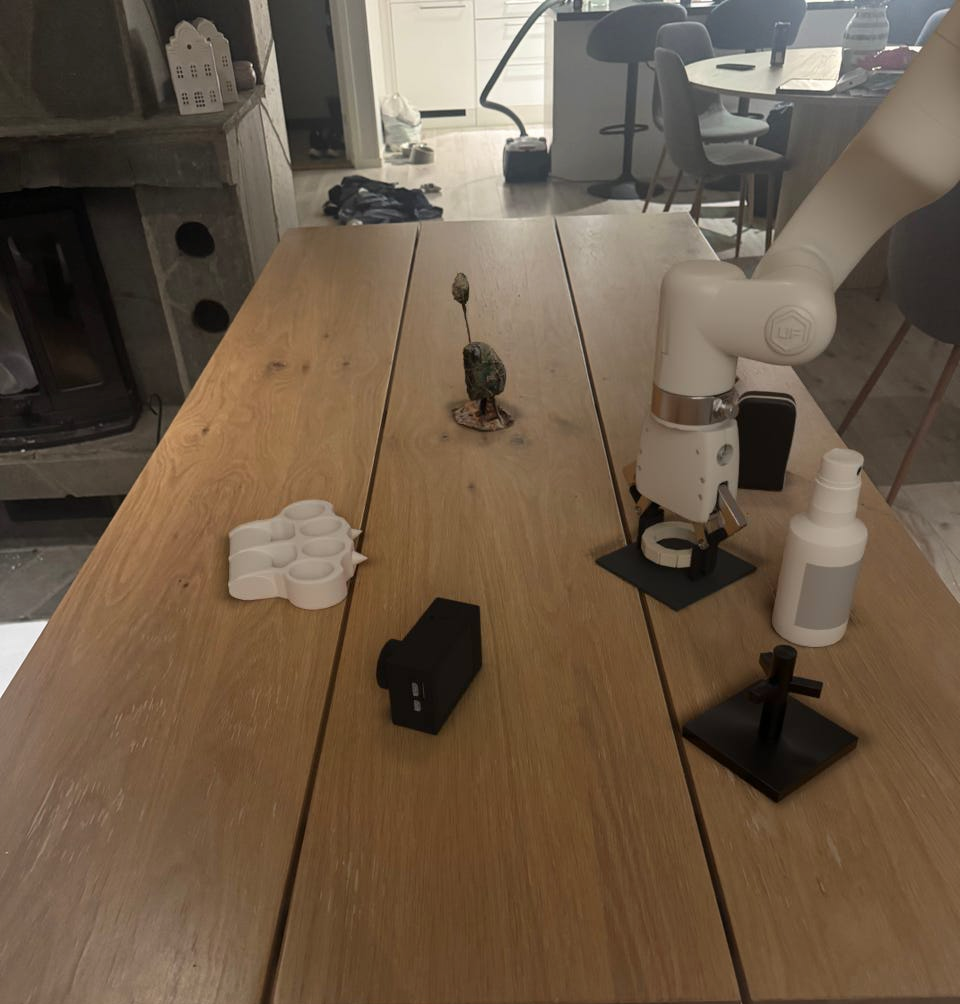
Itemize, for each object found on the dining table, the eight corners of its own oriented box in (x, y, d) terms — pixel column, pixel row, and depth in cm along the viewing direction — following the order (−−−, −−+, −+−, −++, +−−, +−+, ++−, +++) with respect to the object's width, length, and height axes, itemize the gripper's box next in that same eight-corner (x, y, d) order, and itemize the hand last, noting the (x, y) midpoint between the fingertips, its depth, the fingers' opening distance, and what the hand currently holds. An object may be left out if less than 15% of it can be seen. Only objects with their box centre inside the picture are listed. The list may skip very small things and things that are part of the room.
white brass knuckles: (233, 534, 111) (359, 518, 113) (232, 622, 96) (376, 602, 98) (227, 509, 109) (356, 492, 111) (225, 594, 94) (373, 574, 96)
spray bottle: (824, 658, 88) (863, 482, 78) (757, 630, 92) (786, 459, 82) (857, 624, 92) (899, 453, 82) (792, 599, 96) (824, 432, 85)
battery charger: (784, 479, 117) (800, 389, 110) (784, 493, 114) (800, 402, 107) (726, 474, 119) (737, 385, 112) (724, 488, 116) (736, 397, 109)
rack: (760, 688, 85) (776, 599, 80) (856, 748, 79) (881, 656, 73) (681, 736, 81) (692, 645, 75) (776, 804, 74) (796, 710, 68)
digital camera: (430, 653, 91) (424, 592, 87) (482, 665, 89) (480, 603, 85) (379, 721, 83) (371, 658, 79) (436, 736, 82) (430, 671, 77)
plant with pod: (462, 443, 128) (455, 291, 116) (449, 410, 137) (441, 266, 125) (521, 436, 129) (520, 285, 117) (504, 404, 138) (501, 260, 126)
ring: (674, 525, 105) (675, 514, 104) (723, 551, 100) (725, 540, 99) (628, 547, 101) (628, 535, 100) (676, 575, 97) (677, 563, 96)
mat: (673, 526, 109) (673, 523, 108) (757, 570, 101) (757, 566, 100) (594, 562, 103) (595, 559, 103) (676, 611, 95) (677, 608, 95)
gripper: (791, 418, 87) (763, 582, 98) (654, 365, 98) (642, 518, 109) (735, 441, 83) (712, 609, 94) (600, 384, 95) (592, 540, 105)
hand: (674, 559), depth 101 cm, fingers closed on ring, 6 cm apart
